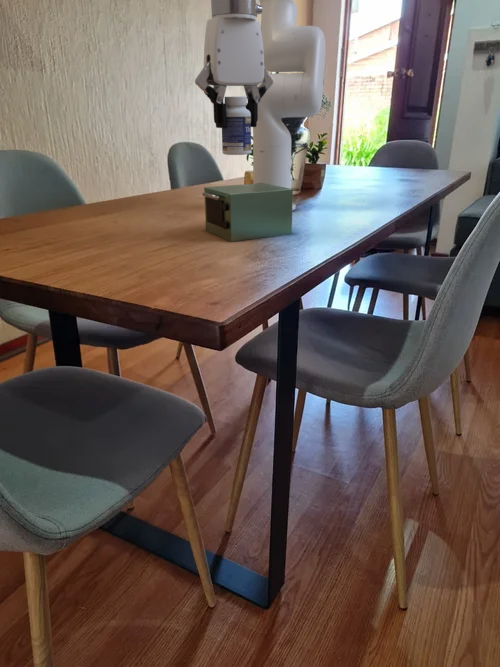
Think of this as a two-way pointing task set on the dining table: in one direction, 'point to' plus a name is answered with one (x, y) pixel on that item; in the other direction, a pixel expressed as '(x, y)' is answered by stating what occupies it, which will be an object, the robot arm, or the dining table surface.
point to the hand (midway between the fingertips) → (236, 126)
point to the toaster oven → (248, 211)
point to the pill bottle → (237, 127)
